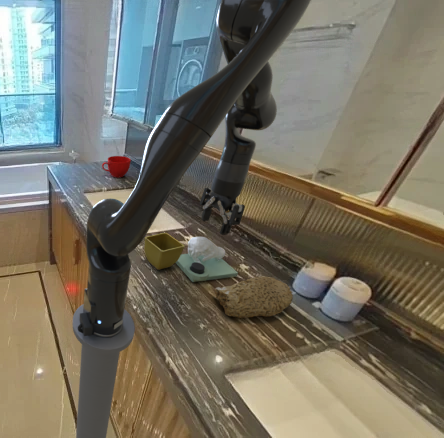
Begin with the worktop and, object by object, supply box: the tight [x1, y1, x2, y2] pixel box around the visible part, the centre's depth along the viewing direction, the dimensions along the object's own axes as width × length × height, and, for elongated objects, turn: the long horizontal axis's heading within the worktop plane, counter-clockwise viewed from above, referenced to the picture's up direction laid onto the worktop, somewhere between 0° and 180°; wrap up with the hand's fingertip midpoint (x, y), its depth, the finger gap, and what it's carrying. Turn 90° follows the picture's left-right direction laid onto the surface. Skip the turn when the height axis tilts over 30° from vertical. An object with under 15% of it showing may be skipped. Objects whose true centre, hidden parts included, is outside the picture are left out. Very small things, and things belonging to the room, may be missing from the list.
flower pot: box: [144, 232, 186, 271], centre depth 91 cm, size 9×9×9 cm
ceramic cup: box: [101, 155, 132, 179], centre depth 164 cm, size 13×17×10 cm
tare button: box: [190, 262, 205, 274], centre depth 86 cm, size 4×4×2 cm
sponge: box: [214, 275, 294, 319], centre depth 76 cm, size 13×8×20 cm
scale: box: [175, 253, 239, 283], centre depth 90 cm, size 16×13×3 cm
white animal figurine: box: [187, 236, 226, 263], centre depth 91 cm, size 6×8×12 cm
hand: (213, 226), depth 86 cm, fingers open, 8 cm apart
